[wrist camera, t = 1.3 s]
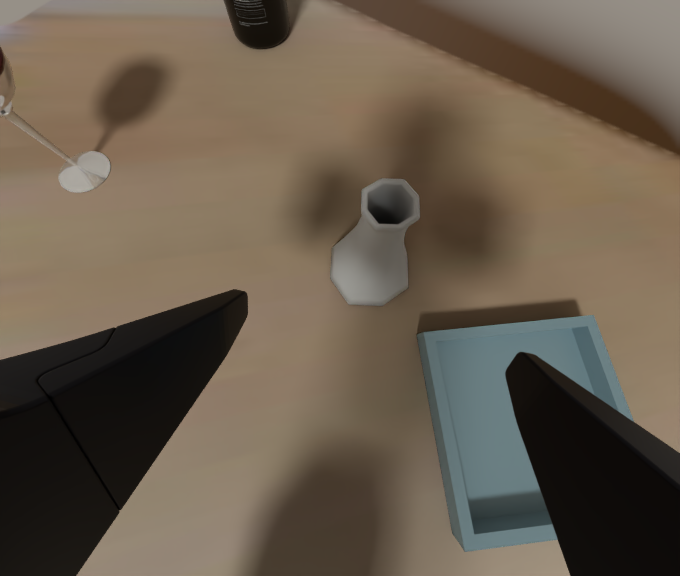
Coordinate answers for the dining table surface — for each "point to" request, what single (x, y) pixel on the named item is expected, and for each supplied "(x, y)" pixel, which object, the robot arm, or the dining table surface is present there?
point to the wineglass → (78, 169)
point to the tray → (501, 420)
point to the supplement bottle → (259, 21)
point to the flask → (376, 245)
